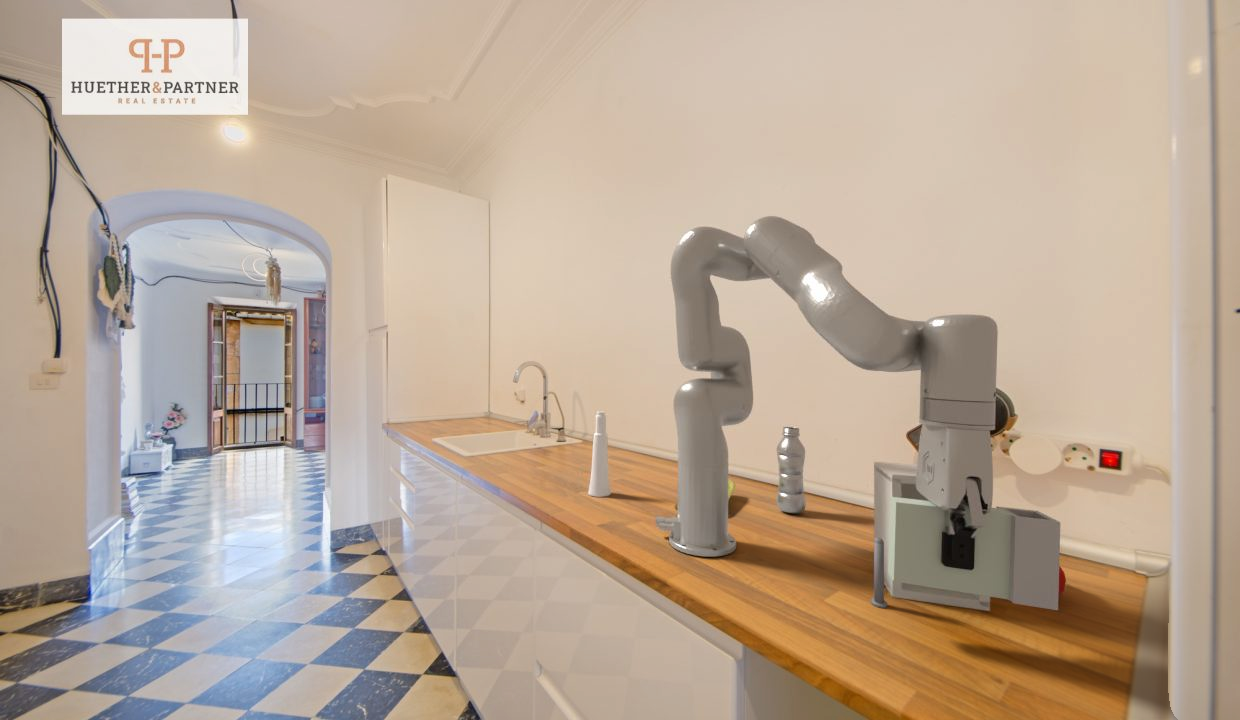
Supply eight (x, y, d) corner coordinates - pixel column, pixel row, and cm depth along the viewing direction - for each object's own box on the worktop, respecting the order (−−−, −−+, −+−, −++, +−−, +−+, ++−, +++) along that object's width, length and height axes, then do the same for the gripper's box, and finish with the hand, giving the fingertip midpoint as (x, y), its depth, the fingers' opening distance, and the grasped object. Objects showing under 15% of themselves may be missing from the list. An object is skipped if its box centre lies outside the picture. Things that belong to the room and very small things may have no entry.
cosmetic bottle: (583, 493, 117) (585, 411, 118) (601, 489, 121) (603, 410, 122) (597, 498, 113) (598, 413, 113) (615, 494, 117) (616, 412, 117)
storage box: (1035, 592, 54) (1037, 510, 54) (1058, 610, 50) (1060, 522, 50) (885, 569, 58) (888, 494, 58) (895, 584, 54) (898, 504, 54)
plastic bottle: (790, 518, 100) (790, 430, 100) (770, 509, 106) (770, 426, 107) (812, 515, 102) (812, 429, 103) (791, 506, 108) (791, 425, 109)
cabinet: (873, 606, 62) (872, 478, 62) (851, 565, 75) (851, 460, 76) (1005, 626, 57) (1004, 488, 58) (957, 579, 71) (956, 467, 71)
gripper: (900, 407, 63) (896, 533, 63) (948, 419, 48) (943, 587, 48) (961, 410, 61) (957, 541, 61) (1032, 424, 46) (1027, 600, 46)
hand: (951, 560), depth 55 cm, fingers closed on storage box, 2 cm apart
